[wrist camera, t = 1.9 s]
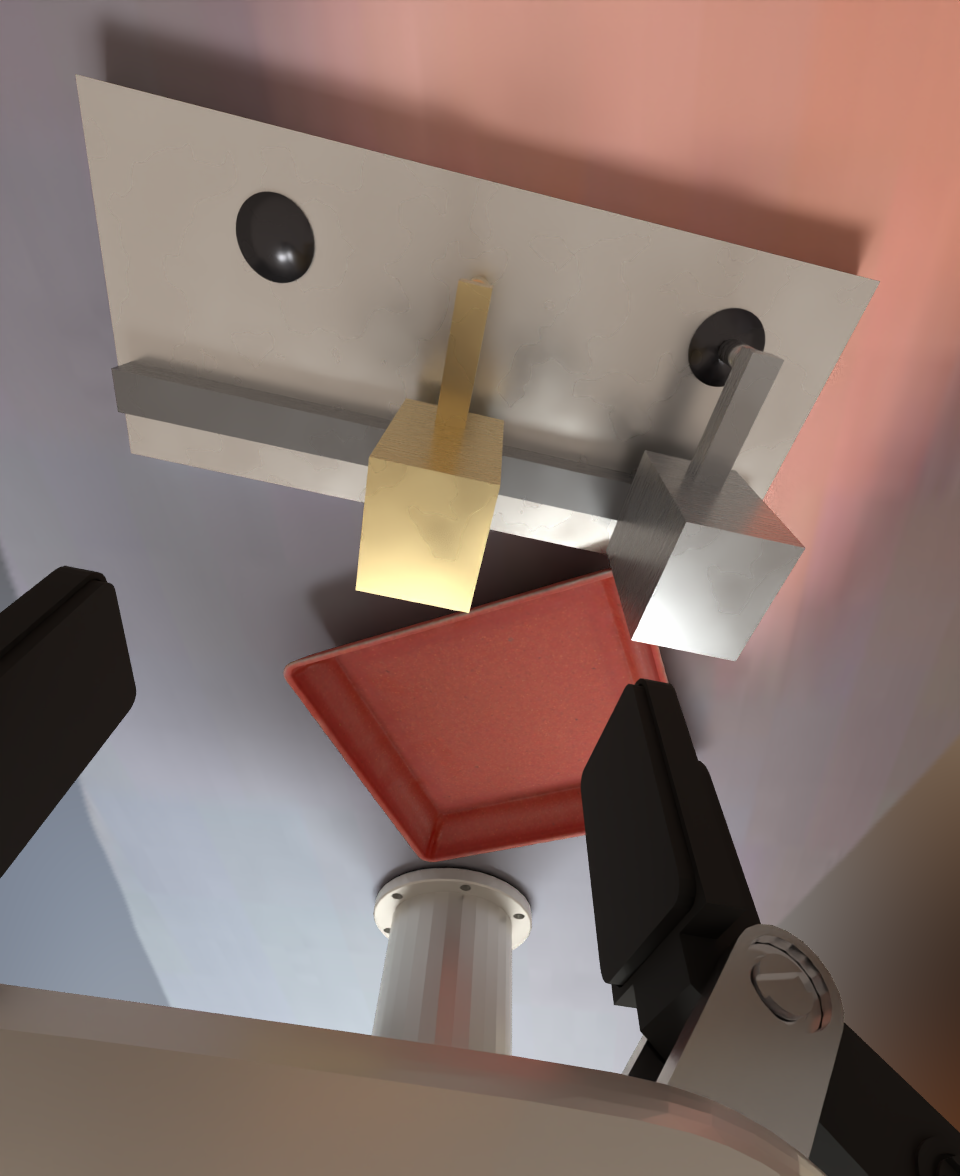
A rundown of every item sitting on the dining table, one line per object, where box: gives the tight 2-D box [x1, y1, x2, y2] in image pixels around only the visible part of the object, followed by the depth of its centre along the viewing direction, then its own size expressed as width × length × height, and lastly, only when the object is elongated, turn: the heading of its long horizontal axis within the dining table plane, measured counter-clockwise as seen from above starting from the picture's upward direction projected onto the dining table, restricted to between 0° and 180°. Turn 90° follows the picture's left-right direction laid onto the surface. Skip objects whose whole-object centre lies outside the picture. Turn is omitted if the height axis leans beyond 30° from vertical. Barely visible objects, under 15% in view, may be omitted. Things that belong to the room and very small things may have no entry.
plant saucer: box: [283, 568, 668, 862], centre depth 31 cm, size 18×18×3 cm
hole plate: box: [75, 74, 880, 661], centre depth 18 cm, size 12×26×9 cm, turn 78°
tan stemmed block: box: [356, 276, 504, 613], centre depth 18 cm, size 9×4×7 cm, turn 168°
